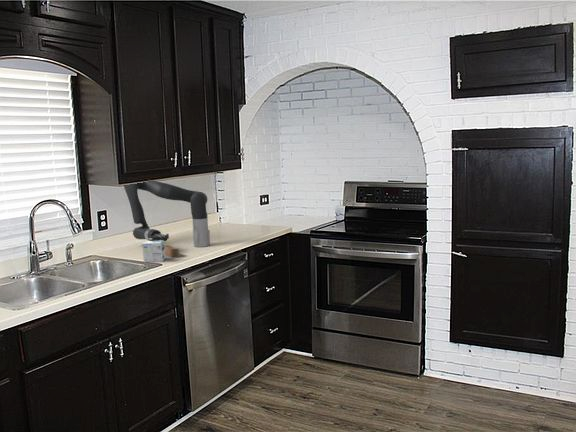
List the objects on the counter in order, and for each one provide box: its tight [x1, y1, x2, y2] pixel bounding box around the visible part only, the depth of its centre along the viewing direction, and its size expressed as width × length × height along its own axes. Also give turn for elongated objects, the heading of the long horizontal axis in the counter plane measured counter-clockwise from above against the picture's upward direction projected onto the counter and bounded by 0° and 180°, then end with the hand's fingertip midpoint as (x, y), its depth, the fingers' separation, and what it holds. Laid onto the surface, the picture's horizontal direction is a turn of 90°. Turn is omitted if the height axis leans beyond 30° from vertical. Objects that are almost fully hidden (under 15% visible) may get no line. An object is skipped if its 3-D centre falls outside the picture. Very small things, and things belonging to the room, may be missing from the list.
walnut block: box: [164, 245, 180, 257], centre depth 324 cm, size 4×4×13 cm
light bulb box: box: [142, 240, 166, 263], centre depth 312 cm, size 11×7×11 cm, turn 92°
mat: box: [164, 252, 187, 261], centre depth 323 cm, size 12×14×1 cm
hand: (165, 239), depth 326 cm, fingers closed
